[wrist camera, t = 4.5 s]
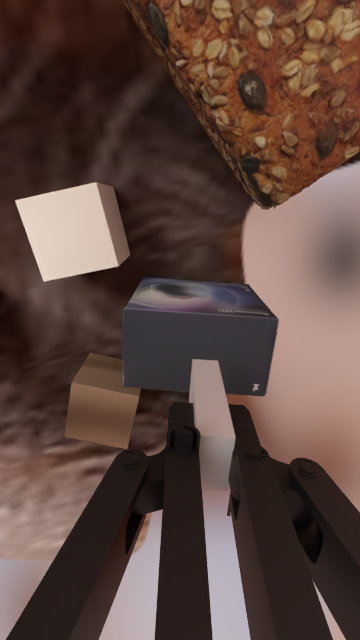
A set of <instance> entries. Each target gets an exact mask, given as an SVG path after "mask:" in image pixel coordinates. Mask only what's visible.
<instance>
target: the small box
mask: <svg viewBox="0 0 360 640" xmlns="http://www.w3.org/2000/svg"><path fill="white" fill-rule="evenodd" d="M278 323H279V319H278V318H277V317H276V316H275V315H274V314H273V313H272V312H271V310H270V309H269V308H268V307H267V306H266V305H265V303H263V301H262V300H261V299H260V298H259V296H258V295H257V294H256V293H255V292H254V291H253V290H252V288H251V287H250V286H249V285H248V284H239V283H224V282H212V281H198V280H185V279H171V278H157V277H143V278H142V280H141V282H140V284H139V285H138V287H137V289H136V291H135V292H134V294H133V296H132V297H131V299H130V301H129V302H128V304H127V305H126V307H125V308H124V315H123V386H124V387H132V388H146V389H162V390H175V391H190V382H191V370H192V359H198V360H215V361H218V363H219V368H220V372H221V376H222V381H223V385H224V389H225V394H236V395H237V394H238V395H253V396H265V395H266V393H267V386H268V380H269V374H270V369H271V362H272V357H273V352H274V346H275V340H276V335H277V329H278Z"/></svg>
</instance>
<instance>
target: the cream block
mask: <svg viewBox="0 0 360 640" xmlns="http://www.w3.org/2000/svg"><path fill="white" fill-rule="evenodd" d="M15 202H16V205H17V208H18V210H19V213H20V216H21V219H22V222H23V225H24V227H25V230H26V233H27V236H28V239H29V241H30V244H31V247H32V250H33V253H34V256H35V258H36V261H37V264H38V267H39V270H40V272H41V275H42V278H43V281H49V280H54V279H59V278H64V277H69V276H74V275H79V274H84V273H89V272H94V271H98V270H103V269H108V268H113V267H118V266H120V265H121V264H122V263H123V262H124V261H125V260H126V259H127V258H128V257H129V256H130V251H129V247H128V243H127V239H126V235H125V231H124V227H123V223H122V219H121V215H120V211H119V208H118V204H117V200H116V196H115V192H114V188H113V187H112V186H109V185H105V184H101V183H97V182H95V183H90V184H86V185H81V186H77V187H73V188H68V189H64V190H59V191H55V192H50V193H46V194H41V195H37V196H32V197H28V198H23V199H19V200H15Z"/></svg>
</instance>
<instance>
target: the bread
mask: <svg viewBox="0 0 360 640" xmlns="http://www.w3.org/2000/svg"><path fill="white" fill-rule="evenodd" d="M122 2H123V3H124V5H125V6H126V8H127V9H128V11H129V12H130V14H131V16H132V18H133V20H134V21H135V23H136V24H137V26H138V27H139V29H140V31H141V32H142V34H143V35H144V37H145V38H146V40H147V41H148V43H149V44H150V46H151V47H152V49H153V50H154V52H155V53H156V55H157V56H158V58H159V59H160V60H161V61H162V63H163V65H164V67H165V69H166V71H167V72H168V73H169V75H170V77H171V78H172V80H173V82H174V84H175V85H176V86H177V88H178V89H179V91H180V93H181V94H182V96H183V97H184V99H185V100H186V102H187V103H188V105H189V106H190V108H191V109H192V110H193V112H194V113H195V115H196V116H197V118H198V119H199V121H200V123H201V124H202V126H203V127H204V129H205V131H206V133H207V134H208V136H209V137H210V138H211V139H212V141H213V143H214V144H215V146H216V148H217V149H218V150H219V152H220V153H221V154H222V156H223V158H224V159H225V161H226V162H227V164H228V165H229V167H230V168H231V170H232V171H233V173H234V175H235V176H236V178H237V179H238V180H239V181H240V182H241V183H242V185H243V187H244V189H245V190H246V192H247V193H248V195H250V196H251V198H252V199H253V200H254V201H255V202H256V203H257V204H258V206H260V207H261V208H262V209H266V210H267V209H269V208H271V207H272V206H273V207H274V208H275V207H276V206H277V205H280V204H282V203H283V202H285V201H287V200H288V199H289V198H290V197H292V196H294V195H296V194H297V193H300V192H301V191H302V190H303V189H304V188H306V187H309V186H310V185H311V184H312V183H314V182H316V181H317V180H318V179H319V178H321V177H323V176H324V175H326V174H327V173H329V172H331V171H332V170H334V169H335V168H337V167H339V166H340V165H342V164H343V163H344V162H346V161H347V160H348V159H350V158H351V157H352V156H354V155H355V154H356V153H358V152H360V0H122Z"/></svg>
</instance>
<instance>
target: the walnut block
mask: <svg viewBox="0 0 360 640" xmlns="http://www.w3.org/2000/svg"><path fill="white" fill-rule="evenodd" d="M140 391H141V388H132V387H124V386H123V360H122V359H117V358H113V357H108V356H104V355H99V354H94V353H90V354H89V355H88V357H87V359H86V360H85V362H84V363H83V365H82V367H81V368H80V370H79V371H78V373H77V375H76V376H75V378H74V379H73V381H72V384H71V391H70V398H69V405H68V412H67V419H66V426H65V433H64V437H67V438H72V439H77V440H82V441H88V442H93V443H98V444H103V445H108V446H113V447H118V448H124V449H127V448H128V444H129V439H130V435H131V431H132V426H133V422H134V418H135V413H136V409H137V405H138V400H139V396H140Z"/></svg>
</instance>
